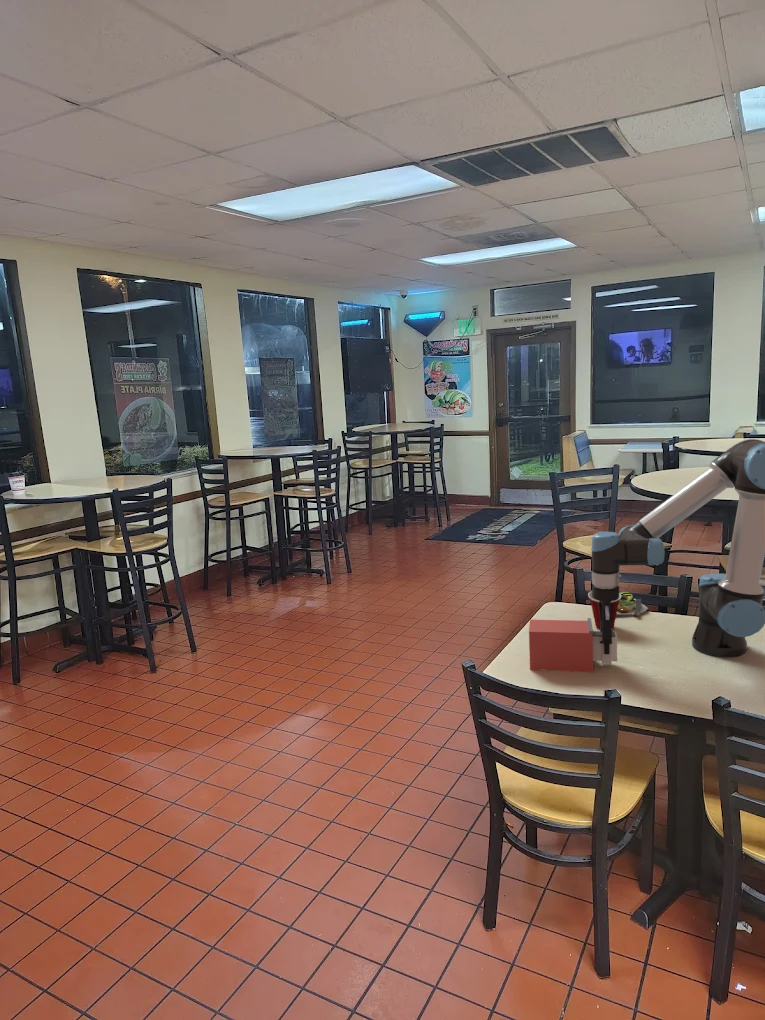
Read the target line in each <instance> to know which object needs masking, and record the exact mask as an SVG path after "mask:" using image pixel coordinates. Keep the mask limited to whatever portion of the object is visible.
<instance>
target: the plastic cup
mask: <svg viewBox="0 0 765 1020" xmlns="http://www.w3.org/2000/svg"><path fill="white" fill-rule="evenodd" d="M621 596H622V595H621V594H620V593H619V598H618V599H617V600H615V601H611V602H610V603H612V604H613V612H612V613H613V620H612V630H614V627H615V622H616V619H617V617H616V614H617V613H618V611H617V609H618V604H619V601H620V599H621ZM587 597H588V599H589V601H590V604H591V610H592V614H593V620H594V625H595V628H596V629H597V630H600V616H599V607H598V602H599V601H600V600H599V601H598V600H596V599H594V598H593V597H592V590H591V591H588V593H587Z"/></svg>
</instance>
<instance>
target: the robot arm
mask: <svg viewBox="0 0 765 1020" xmlns="http://www.w3.org/2000/svg"><path fill="white" fill-rule="evenodd" d="M727 489H734V491H735V492H736V493H737V494H738V496H739V498H738V503H737V509H736V513H735V514H736V515H735V520H734V524H733V525H734V526H733V531H732V537H731V544H730V547H729V554H728V560H727V566H726V570H725V571H726V572H725V573H708V574H704V575H702V576H701V577H700V578H699V584H698V587H699V588H698V589H699V591H698V595H699V597H698V598H699V600H698V622H697V624H696V627H695V630H694V632H693V635H692V639H691V642H692V643H691V645H692V648H694V649H695V650H696V651H698V652H700V653H703V654H706V655H710V656H714V657H715V656H716V657H730V658H732V657H738V656H742V655H743V654H745V653H746V652H747V650H748V642H747V639H746V638H747V637H750V636H753V635H755V634H757V633H758V632H760V631H761V630H762V629H763V628H764V626H765V608H764V606H763V600H764V594H765V590H764V588H763V586H761V584H760V581H761V576H762V571H763V566H764V562H765V561H764V560H765V441H763V440H760V439H755V438H754V439H753V438H749V439H746V440H742V441H740V442H738V443H736V444H733V446H731V447H729V448H728V449H727V450H726V451H724V452H723V453H722V454H720V455H719V456H718V457H716V458H715V459H713V460H712V461H711V462H710V463H709V468H708V469H706V470H705V471H703V472H702V473H701V474H700V475H698V476H696V477H695V478H694V479H693V480H691V481H690V482H689V483H688V484H686V485H685V486H684V487H682V488H681V489H680V490H678V491H676V493H674V494H673V495H671V496H670V497H669V498H667V499H666V500H664V502H662V503H660V504H659V505H658V506H657V507H655V508H654V509H653V510H652V511H650V512H649V513H648V514H646V515H645V516H643V517H642V518H641V519H639V520H638V521H637V522H635V523H634V524H632V525H626V526H624V527H622V528H621V529H620V530H619V532H618V533H617V532H614V531H599V532H596V533H594V534H593V535H592V538H591V539H592V542H591V569H592V570H591V584H592V586H591V591H592V597H593V598H594V599H596V600H598V601H599V600H600V601H599V602H598V607H599V616H600V629H599V631H602V641H600V643H601V646H602V661H601V664H603V665H604V664H606V665H607V664H609V665H611V664H612V661H611V644H612V632H613V629H612V620H613V613H612V612H613V604H612V603H610V602H611V601H615V600H617V599H618V598H619V592H620V586H619V585H620V578H622V574H621V573H620V566H656V565H658V566H659V565H661V564H663V562H665V561H664V560H665V555H666V554H665V545H664V542H663V540H662V539H660V537H662V536H663V535H665V534H666V533H667V532H668V531H670V530H671V529H673V528H674V527H675V526H677V525H678V524H680V523H681V522H683V521H684V520H685V519H687V518H688V517H689V516H691V515H692V514H694V513H695V512H696V511H697V510H699V509H700V508H702V507H703V506H704V505H706V504H708V502H710V501H711V500H713V499H714V498H715V497H717V496H718V495H720V494H722V492H723V491H725V490H727Z"/></svg>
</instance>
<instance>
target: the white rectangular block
mask: <svg viewBox="0 0 765 1020" xmlns="http://www.w3.org/2000/svg"><path fill="white" fill-rule="evenodd" d="M600 641H602V631H600V630H599V631H598V630H597V631H596V630H593V662H597V661H599V662H602V646H601V643H600ZM611 662H618V635H617V631H612V644H611Z"/></svg>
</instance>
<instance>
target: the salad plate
mask: <svg viewBox="0 0 765 1020" xmlns="http://www.w3.org/2000/svg"><path fill="white" fill-rule="evenodd" d="M619 593H620V594H623V593H630V592H629V591H619ZM626 595H631V596H626ZM622 599H627V600H622ZM633 600H635V601H633ZM621 609H623V610H621ZM646 611H648V607H647V606H646V605H645V604H643V603H642V599H641V598H640V599H636V598H635V597H634V595H633V594H632V593H631V594H623V595H622V596H621V599H620V601H619V604H618V609H617V614H616V618H618V617H619V618H623V617H638V616H640V615H641V614H643V613H645V612H646Z"/></svg>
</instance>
